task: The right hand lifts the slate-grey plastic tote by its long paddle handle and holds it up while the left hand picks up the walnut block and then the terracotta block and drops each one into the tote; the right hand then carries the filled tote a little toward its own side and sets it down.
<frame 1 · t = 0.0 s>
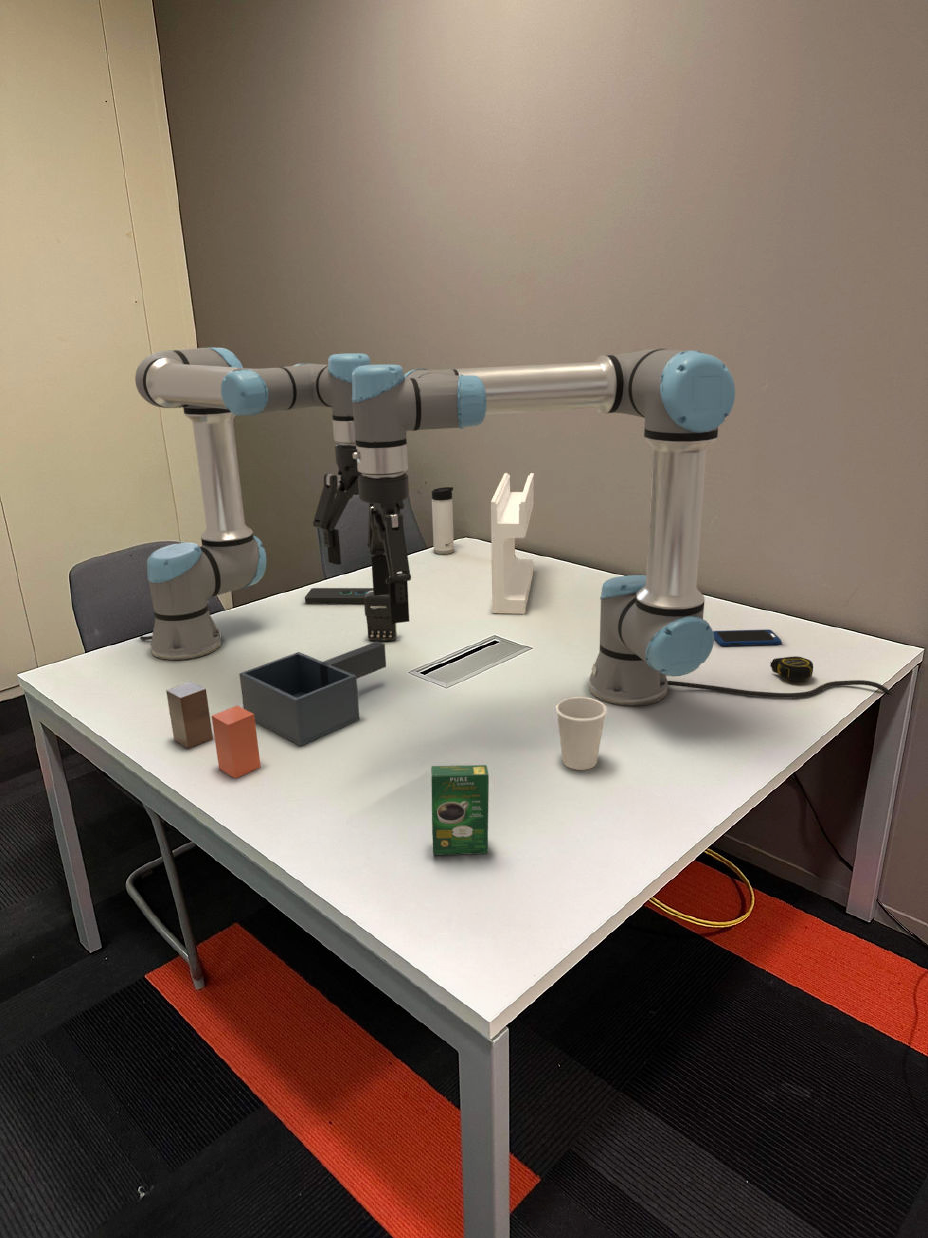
left hand: (363, 555, 162), 28 cm above the table, fingers open, 13 cm apart
right hand: (390, 607, 134), 28 cm above the table, fingers open, 13 cm apart
white stand: (514, 591, 227), on the table
tape measure: (790, 677, 172), on the table
terracotta block: (239, 767, 144), on the table
smart home device: (345, 599, 224), on the table
travel mug: (444, 552, 264), on the table
walnut block: (193, 739, 154), on the table
coffee box: (461, 851, 121), on the table
battery charger: (381, 640, 197), on the table
cell phone: (745, 639, 192), on the table
tote: (301, 718, 161), on the table
dixie cup: (579, 762, 143), on the table
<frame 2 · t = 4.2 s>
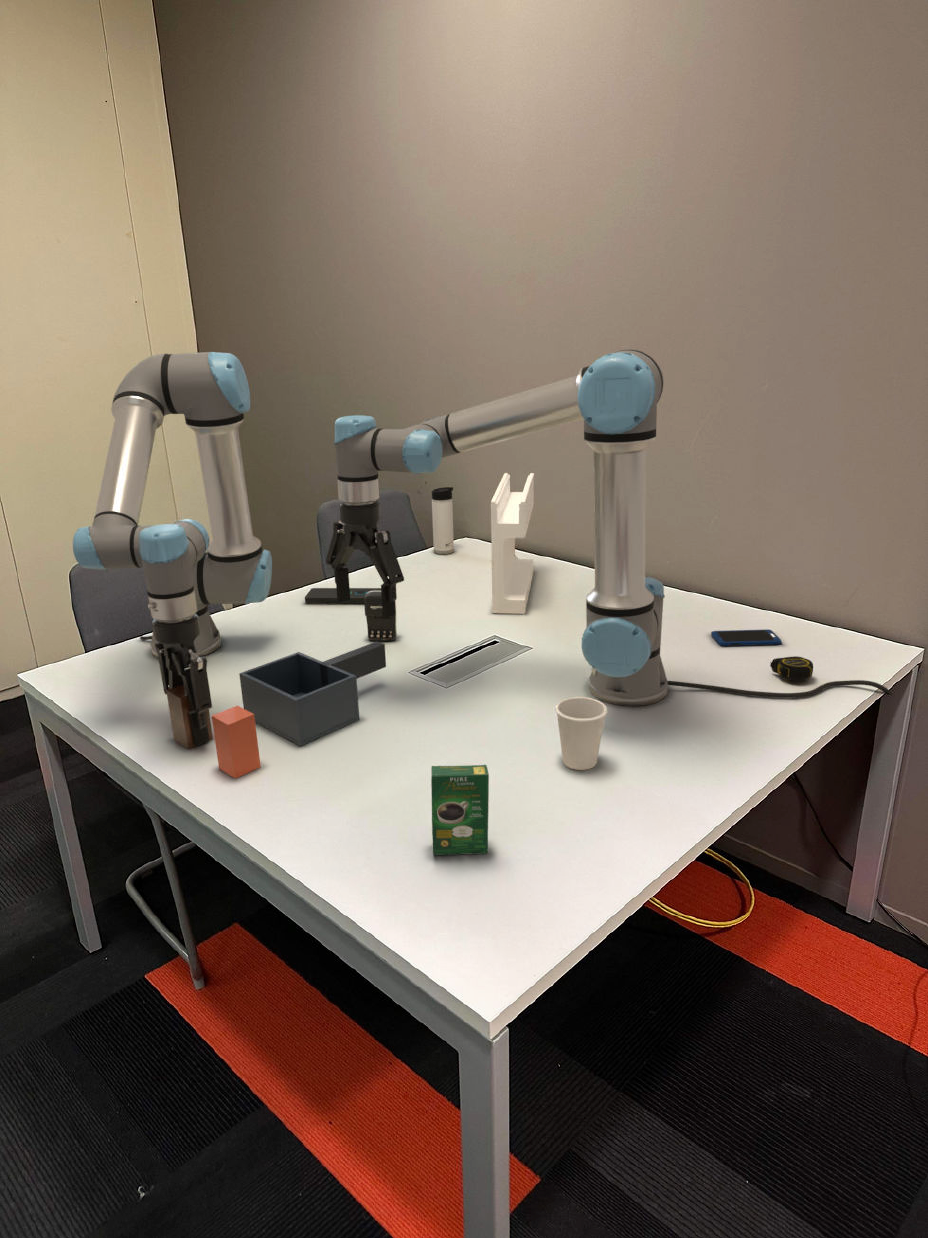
left hand: (193, 737, 154), 1 cm above the table, fingers closed on walnut block, 5 cm apart
right hand: (366, 608, 167), 17 cm above the table, fingers open, 13 cm apart
walnut block: (193, 739, 154), on the table, touching left hand
everything else where it was.
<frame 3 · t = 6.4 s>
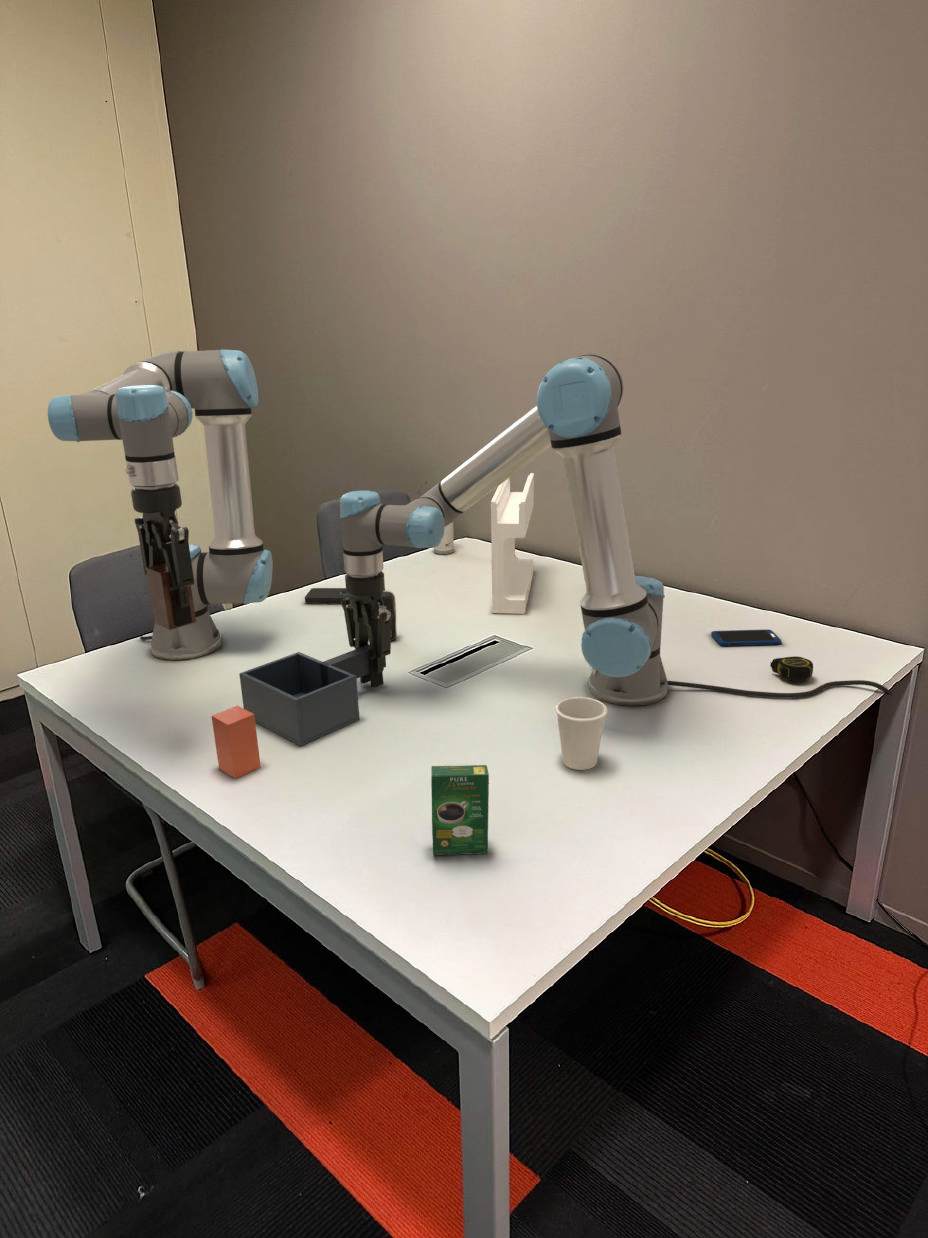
left hand: (175, 619, 146), 23 cm above the table, fingers closed on walnut block, 5 cm apart
right hand: (371, 683, 172), 1 cm above the table, fingers closed on tote, 2 cm apart
walnut block: (175, 622, 146), point 23 cm above the table, touching left hand
tote: (301, 718, 161), on the table, touching right hand
everything else where it was.
when the left hand's fingers open (23 cm above the table, at t = 10.8 s): walnut block drops 11 cm, resting on tote.
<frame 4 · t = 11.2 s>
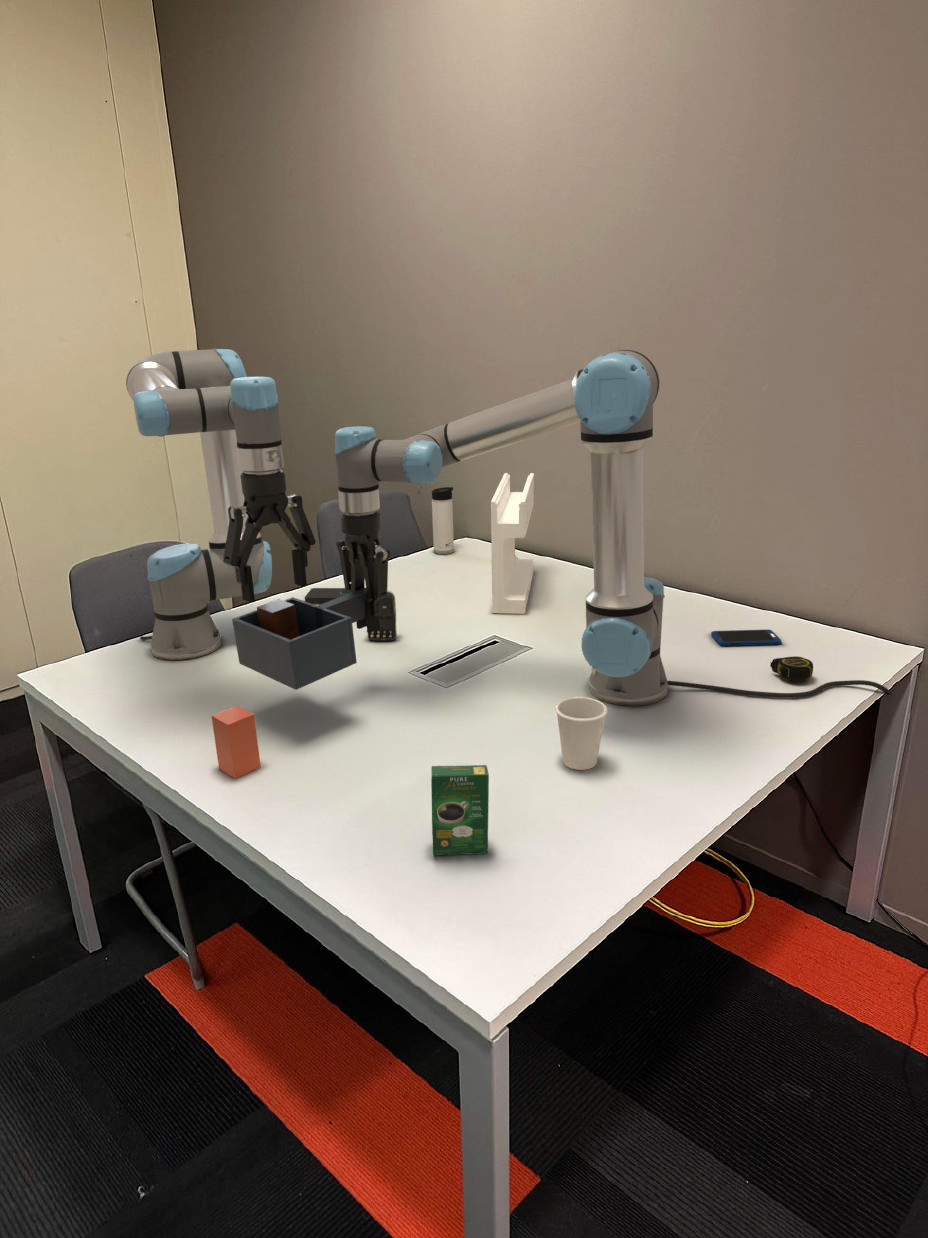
left hand: (275, 592, 154), 24 cm above the table, fingers open, 10 cm apart
right hand: (368, 628, 168), 13 cm above the table, fingers closed on tote, 2 cm apart
walnut block: (283, 655, 159), point 12 cm above the table, touching tote
tote: (297, 663, 157), point 11 cm above the table, touching right hand, walnut block
everything else where it was.
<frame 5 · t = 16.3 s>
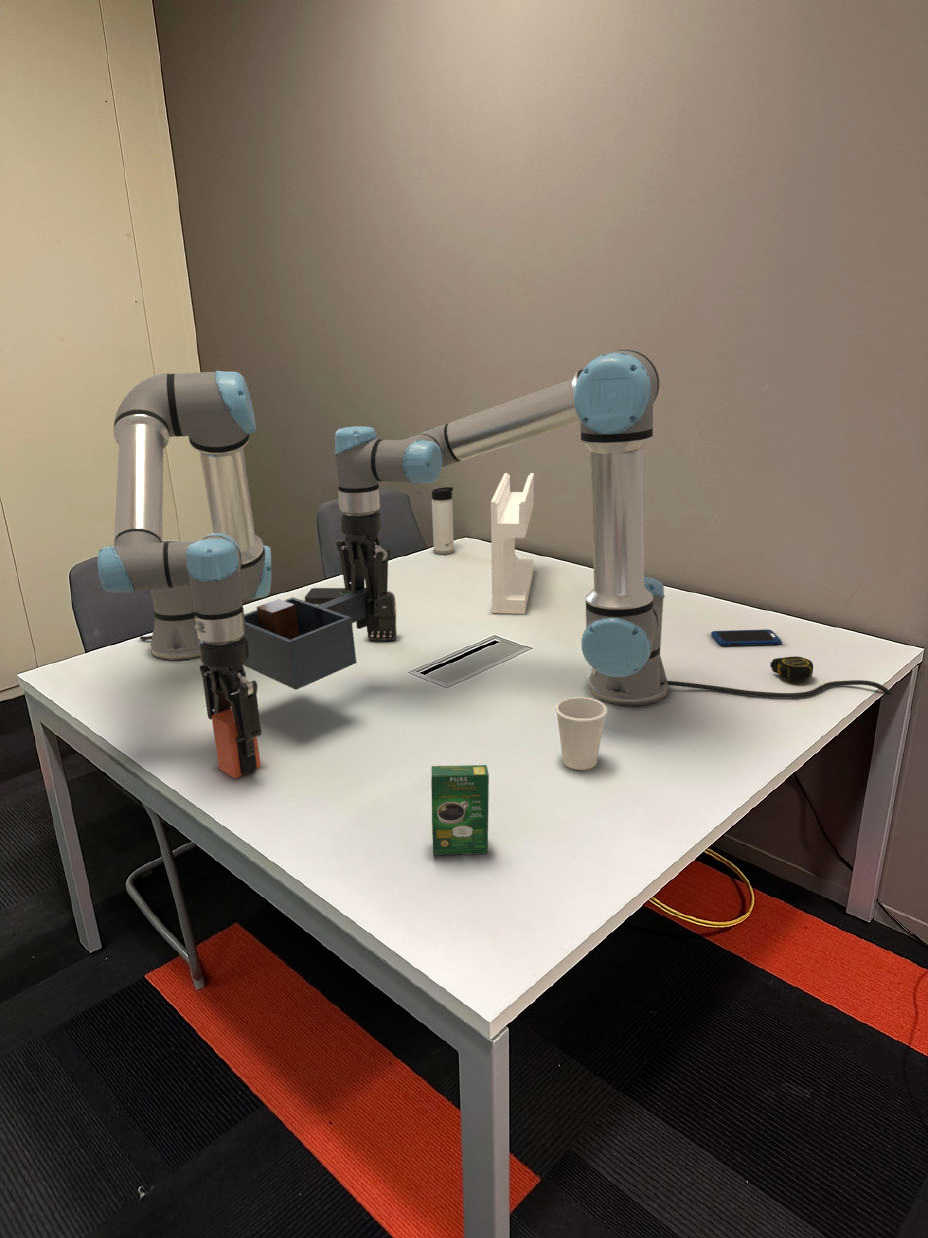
left hand: (239, 765, 144), 1 cm above the table, fingers closed on terracotta block, 5 cm apart
right hand: (368, 628, 168), 13 cm above the table, fingers closed on tote, 2 cm apart
terracotta block: (239, 767, 144), on the table, touching left hand
tote: (297, 663, 157), point 11 cm above the table, touching right hand, walnut block
everything else where it was.
when the left hand's fingers open (23 cm above the table, at t = 20.2 s): terracotta block drops 12 cm, resting on tote.
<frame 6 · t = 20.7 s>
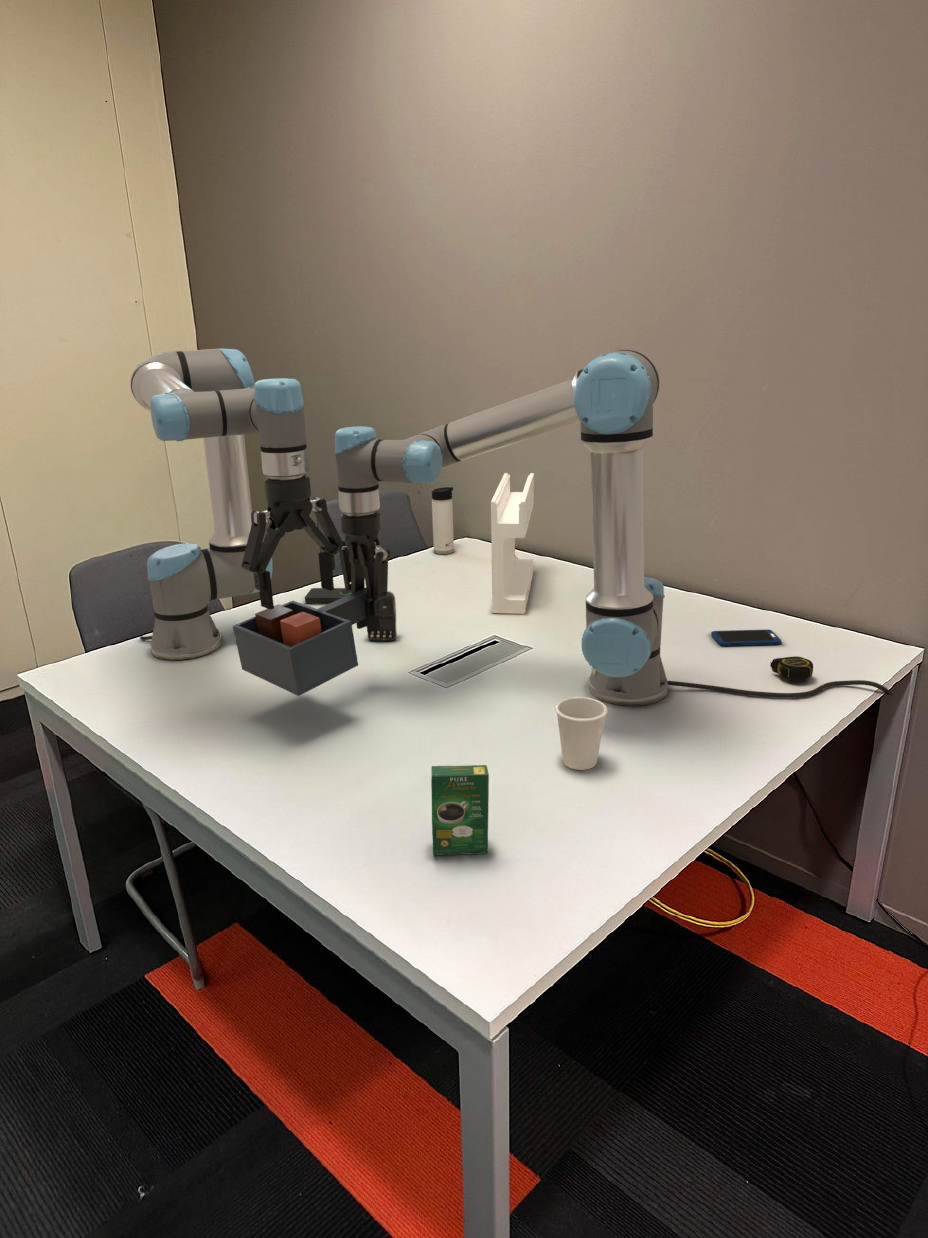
left hand: (298, 597, 149), 25 cm above the table, fingers open, 12 cm apart
right hand: (368, 628, 168), 13 cm above the table, fingers closed on tote, 2 cm apart
terracotta block: (307, 669, 154), point 11 cm above the table, touching tote
walnut block: (283, 660, 159), point 11 cm above the table, tilted 5°, touching tote
tote: (299, 667, 158), point 10 cm above the table, tilted 5°, touching right hand, terracotta block, walnut block
everything else where it was.
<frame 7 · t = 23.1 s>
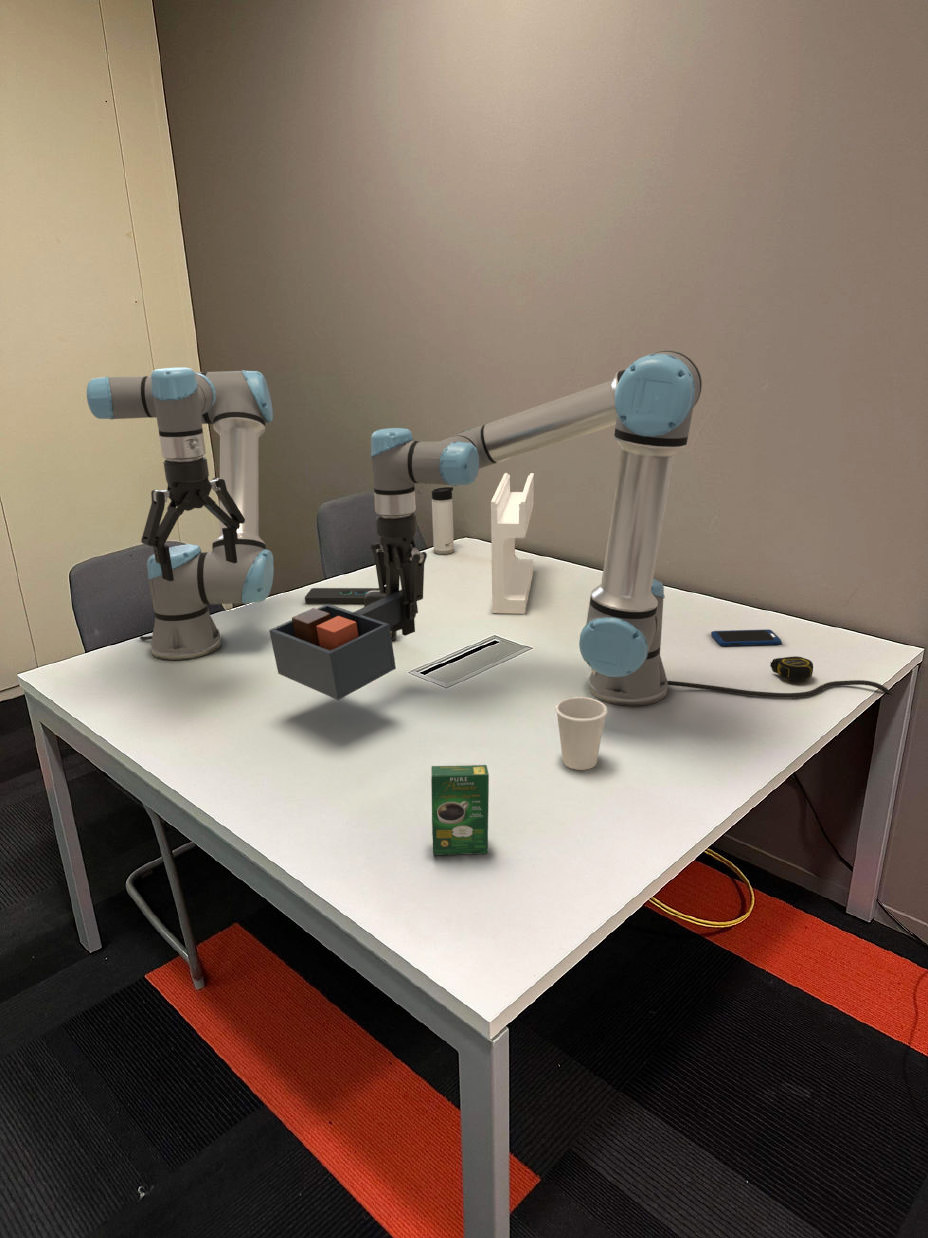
left hand: (200, 570, 161), 26 cm above the table, fingers open, 13 cm apart
right hand: (403, 631, 167), 13 cm above the table, fingers closed on tote, 2 cm apart
terracotta block: (345, 674, 153), point 11 cm above the table, tilted 6°, touching tote
walnut block: (320, 664, 158), point 11 cm above the table, tilted 6°, touching tote
tote: (336, 671, 156), point 10 cm above the table, tilted 6°, touching right hand, terracotta block, walnut block
everything else where it was.
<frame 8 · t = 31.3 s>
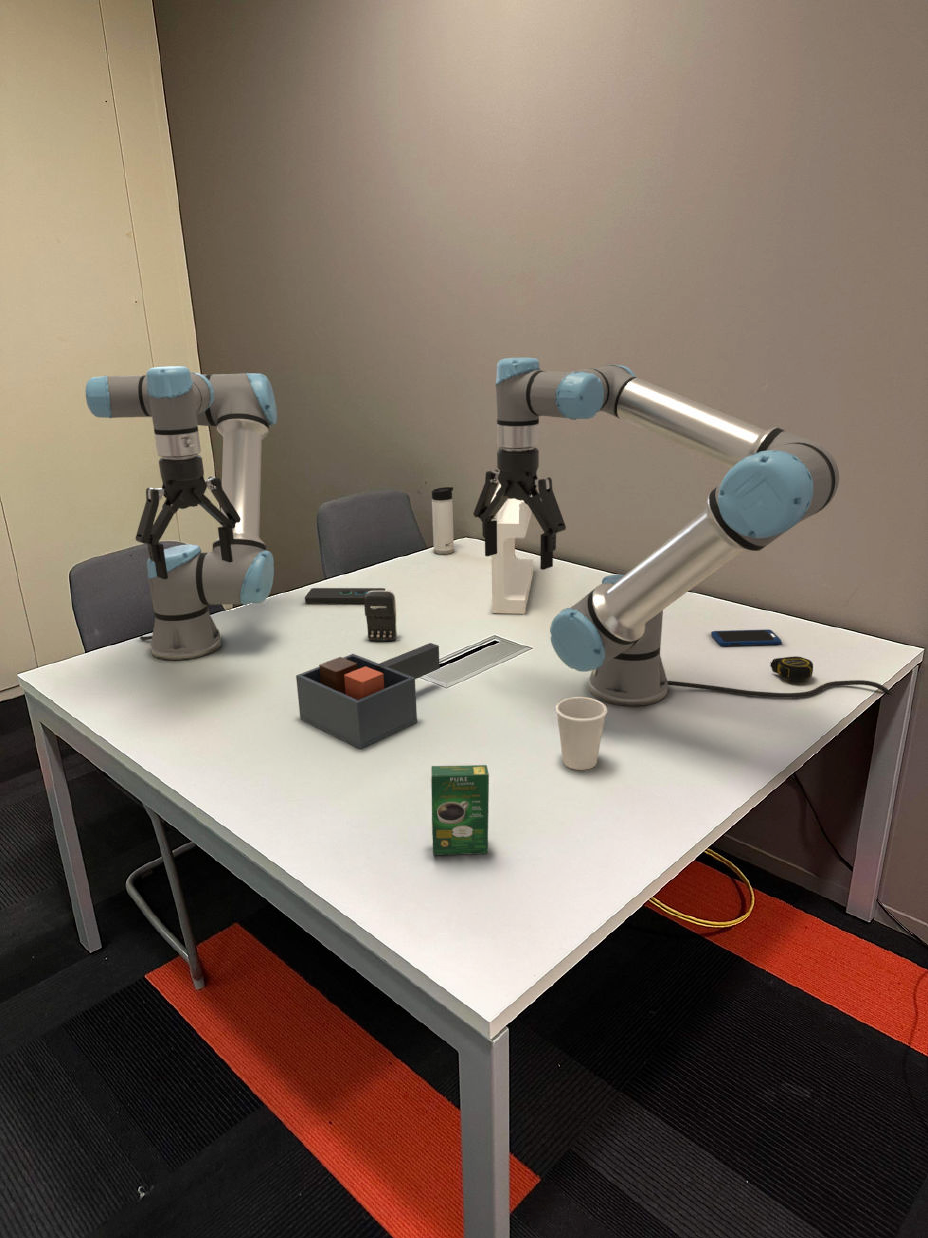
left hand: (195, 569, 161), 27 cm above the table, fingers open, 13 cm apart
right hand: (518, 561, 161), 27 cm above the table, fingers open, 13 cm apart
terracotta block: (367, 724, 156), point 1 cm above the table, touching tote
walnut block: (342, 712, 161), point 1 cm above the table, touching tote
tote: (358, 720, 159), on the table, touching terracotta block, walnut block
everything else where it was.
at the end: walnut block inside the target area on the tote (3.6 cm from its centre), point 0.8 cm above the tote's base; terracotta block inside the target area on the tote (3.6 cm from its centre), point 0.8 cm above the tote's base; tote inside the target area (0.4 cm from its centre), on the table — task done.
